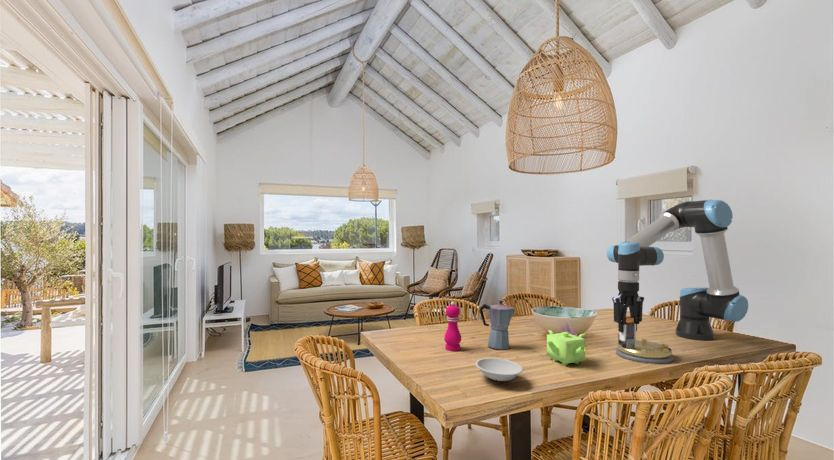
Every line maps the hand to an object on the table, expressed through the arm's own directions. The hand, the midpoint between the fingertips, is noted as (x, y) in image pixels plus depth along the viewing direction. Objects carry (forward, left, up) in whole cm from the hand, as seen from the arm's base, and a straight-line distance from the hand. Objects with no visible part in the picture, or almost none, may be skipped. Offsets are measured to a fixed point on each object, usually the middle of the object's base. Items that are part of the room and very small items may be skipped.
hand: (627, 339), depth 162 cm
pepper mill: (+53, -45, -7) cm, 70 cm away
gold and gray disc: (-6, +3, -5) cm, 9 cm away
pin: (0, 0, -3) cm, 3 cm away
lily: (+7, -22, -7) cm, 24 cm away
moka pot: (+35, -37, -7) cm, 51 cm away
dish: (+62, -8, -7) cm, 62 cm away
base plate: (-6, +3, -7) cm, 10 cm away
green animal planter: (+26, -9, -7) cm, 28 cm away
